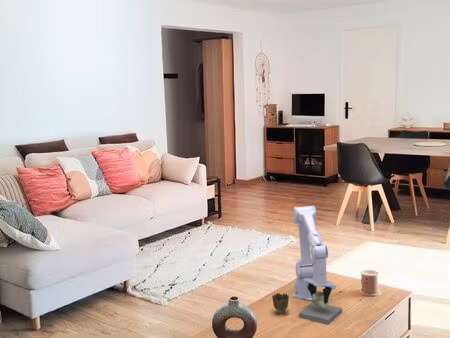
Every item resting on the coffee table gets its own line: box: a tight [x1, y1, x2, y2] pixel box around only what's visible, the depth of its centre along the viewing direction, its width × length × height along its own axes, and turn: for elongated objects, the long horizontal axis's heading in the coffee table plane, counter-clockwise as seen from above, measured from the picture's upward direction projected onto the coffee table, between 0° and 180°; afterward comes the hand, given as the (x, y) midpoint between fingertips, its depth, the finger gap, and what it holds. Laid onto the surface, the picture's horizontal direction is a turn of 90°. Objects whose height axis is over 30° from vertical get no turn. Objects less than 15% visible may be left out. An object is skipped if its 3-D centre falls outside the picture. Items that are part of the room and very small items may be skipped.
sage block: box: [312, 290, 329, 308], centre depth 229 cm, size 5×5×5 cm
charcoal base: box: [298, 301, 343, 325], centre depth 230 cm, size 14×14×2 cm
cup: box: [271, 292, 290, 315], centre depth 233 cm, size 8×7×8 cm
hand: (320, 301), depth 229 cm, fingers closed on sage block, 5 cm apart
